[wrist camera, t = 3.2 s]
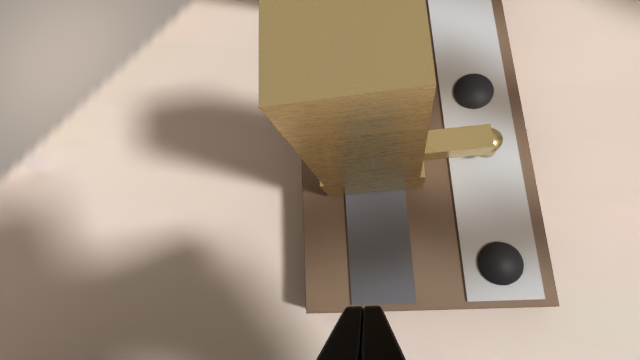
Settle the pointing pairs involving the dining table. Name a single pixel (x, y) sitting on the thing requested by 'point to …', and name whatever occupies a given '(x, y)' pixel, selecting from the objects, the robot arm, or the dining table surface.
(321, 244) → the gauge board
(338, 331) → the robot arm
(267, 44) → the leg
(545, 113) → the dining table surface
